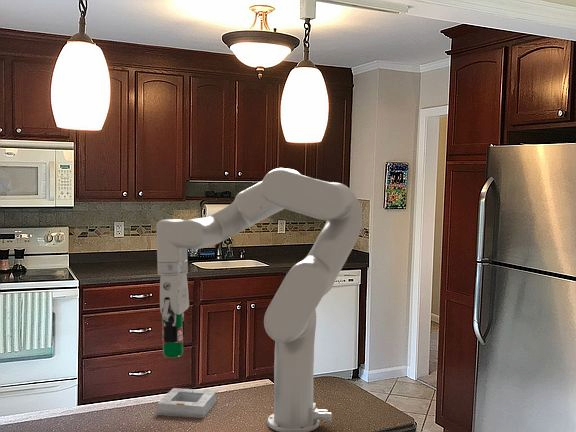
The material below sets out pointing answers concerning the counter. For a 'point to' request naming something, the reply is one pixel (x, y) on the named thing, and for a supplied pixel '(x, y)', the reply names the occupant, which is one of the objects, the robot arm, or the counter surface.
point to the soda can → (174, 347)
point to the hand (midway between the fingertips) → (174, 338)
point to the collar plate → (186, 403)
